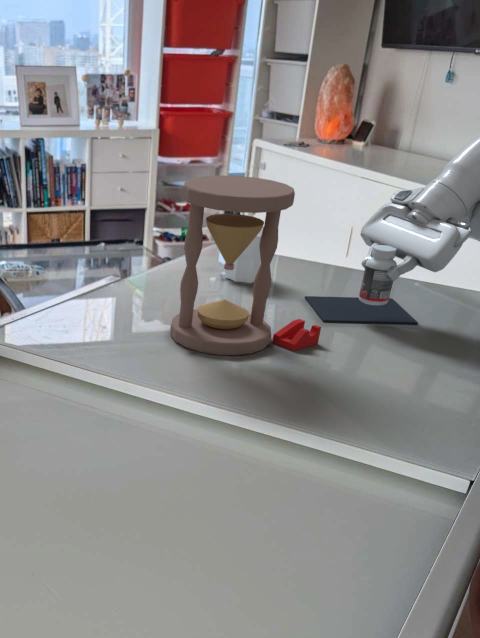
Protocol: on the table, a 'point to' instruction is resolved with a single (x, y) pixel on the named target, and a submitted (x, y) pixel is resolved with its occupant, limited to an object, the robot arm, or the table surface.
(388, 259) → the pill bottle
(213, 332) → the hourglass
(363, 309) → the mat
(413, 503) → the table surface
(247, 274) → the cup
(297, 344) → the bracket
